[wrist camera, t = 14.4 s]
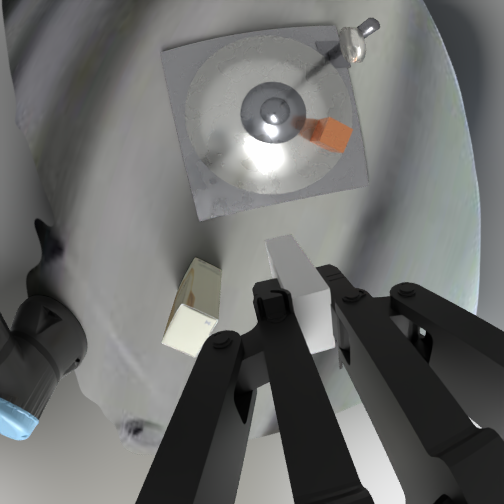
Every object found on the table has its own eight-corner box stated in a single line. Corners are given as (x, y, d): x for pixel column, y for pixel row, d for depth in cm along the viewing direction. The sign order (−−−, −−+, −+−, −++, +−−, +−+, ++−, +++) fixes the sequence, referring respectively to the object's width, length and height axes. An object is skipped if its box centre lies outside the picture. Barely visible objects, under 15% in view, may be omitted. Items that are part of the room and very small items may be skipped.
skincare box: (194, 255, 40) (181, 300, 28) (223, 269, 41) (221, 318, 30) (175, 292, 42) (159, 344, 30) (202, 305, 43) (195, 359, 31)
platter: (311, 216, 38) (323, 227, 33) (162, 159, 34) (151, 161, 29) (368, 82, 32) (388, 75, 27) (225, 18, 28) (225, 0, 23)
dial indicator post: (323, 80, 33) (364, 54, 21) (313, 43, 31) (349, 5, 19) (350, 78, 33) (400, 56, 21) (341, 42, 31) (384, 8, 19)
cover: (286, 153, 33) (294, 154, 29) (230, 131, 32) (230, 129, 28) (308, 101, 31) (318, 95, 27) (253, 78, 30) (256, 69, 26)
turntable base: (199, 219, 38) (199, 221, 37) (161, 54, 30) (159, 51, 29) (366, 185, 38) (369, 186, 37) (333, 27, 30) (336, 24, 29)
